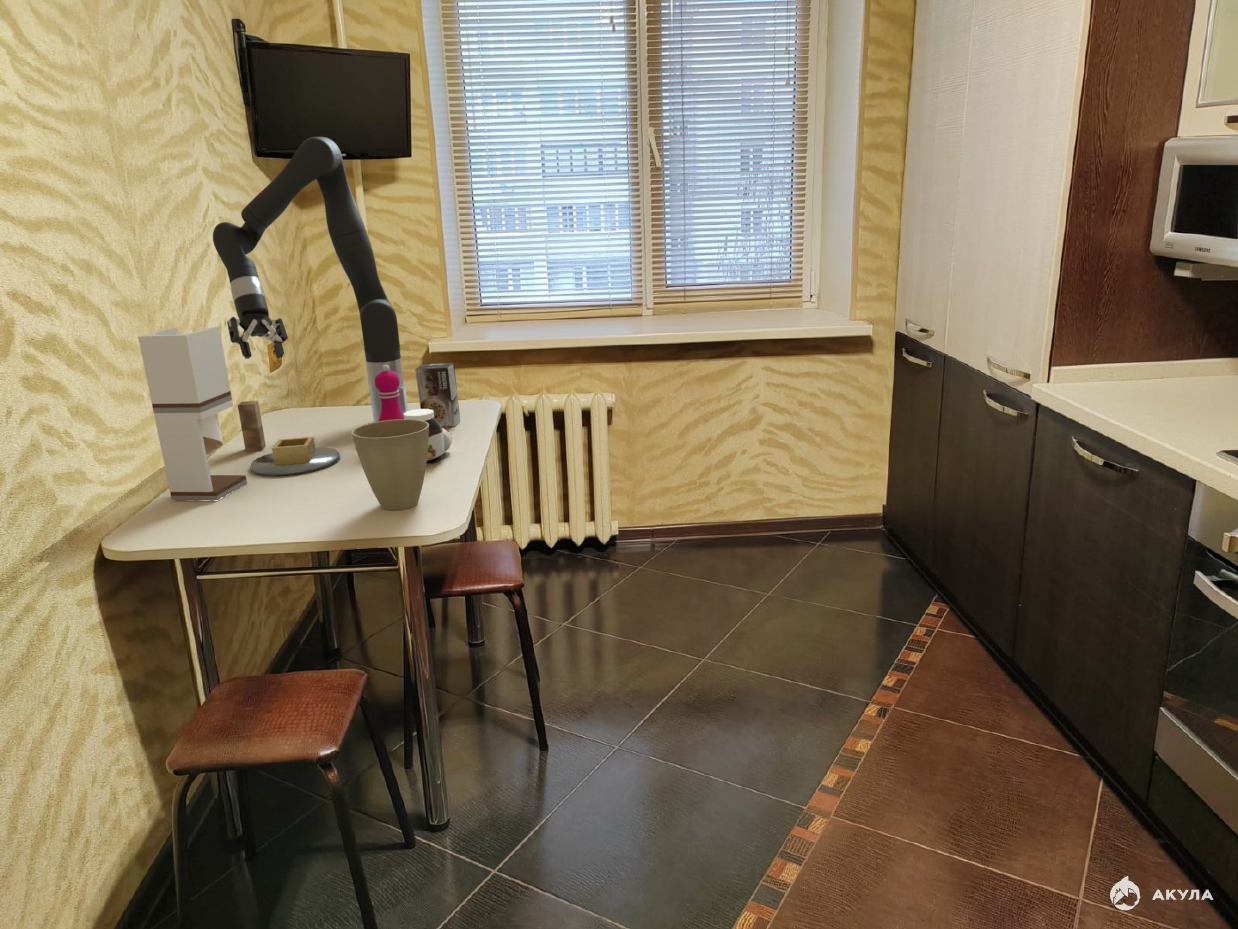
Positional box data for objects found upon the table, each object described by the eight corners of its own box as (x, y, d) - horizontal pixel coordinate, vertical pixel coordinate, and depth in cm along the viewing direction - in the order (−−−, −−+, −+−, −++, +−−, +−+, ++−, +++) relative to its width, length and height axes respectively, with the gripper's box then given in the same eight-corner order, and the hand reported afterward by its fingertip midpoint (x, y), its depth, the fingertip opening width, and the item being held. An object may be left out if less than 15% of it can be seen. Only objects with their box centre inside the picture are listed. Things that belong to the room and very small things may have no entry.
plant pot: (448, 505, 181) (440, 428, 176) (375, 522, 173) (364, 442, 169) (422, 487, 193) (413, 414, 188) (352, 502, 186) (342, 427, 181)
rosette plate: (345, 448, 225) (342, 428, 224) (333, 472, 207) (330, 450, 205) (262, 455, 223) (258, 435, 221) (242, 480, 204) (238, 458, 202)
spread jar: (402, 467, 207) (396, 418, 204) (402, 454, 218) (396, 407, 215) (455, 461, 210) (450, 413, 206) (452, 449, 220) (447, 402, 217)
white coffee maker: (217, 501, 190) (186, 335, 180) (171, 500, 192) (138, 336, 182) (247, 483, 201) (219, 326, 191) (203, 483, 203) (173, 327, 193)
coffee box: (461, 420, 247) (455, 362, 242) (454, 426, 241) (448, 367, 236) (428, 421, 248) (422, 363, 243) (421, 427, 242) (414, 368, 237)
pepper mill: (374, 446, 226) (363, 367, 220) (391, 438, 232) (381, 361, 227) (398, 448, 223) (388, 368, 217) (415, 440, 230) (406, 362, 224)
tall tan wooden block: (265, 446, 231) (258, 400, 228) (262, 450, 227) (254, 404, 224) (249, 447, 231) (241, 401, 227) (245, 451, 227) (237, 405, 223)
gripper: (228, 290, 223) (244, 352, 222) (281, 293, 234) (297, 351, 232) (215, 303, 228) (231, 363, 226) (268, 305, 239) (283, 362, 237)
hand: (264, 357), depth 229 cm, fingers open, 8 cm apart
